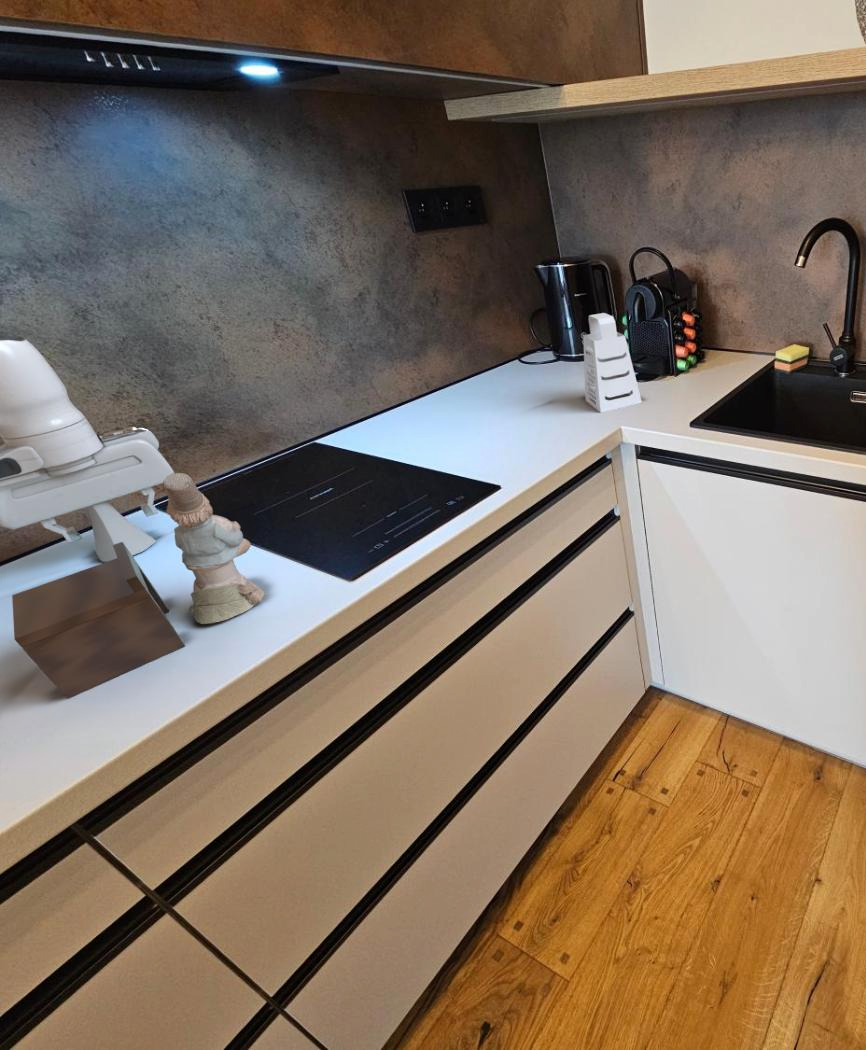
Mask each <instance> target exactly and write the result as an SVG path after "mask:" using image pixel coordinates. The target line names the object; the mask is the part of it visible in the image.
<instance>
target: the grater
mask: <svg viewBox="0 0 866 1050" xmlns="http://www.w3.org/2000/svg"><path fill="white" fill-rule="evenodd" d="M616 324H617V323H616V320H615V317H614V316H612V315H610V314H608V313H606V312H601V313H596V314H590V315H588V325H589V332H590V333H589V334H583V336H582V338H583V342H582V343H583V365H584V366H583V367H584V390H585V391H584V392H585V393H584V394H585V401H586V402H587V403H588V404H589V405H590V406H591V407H593V408H594V409H595V410H596V411H598V412H599V413H600V414H601V413H602V414H603V413H605V412H610V411H615V410H618V409H623V408H626V407H627V408H628V407H630V406H635V405H639V404H643V401H642V397H641V393H640V389H639V385H638V381H637V378H636V374H635V370H634V367H633V362H632V358H631V354H630V351H629V347H628V343H627V339H626V335H625V334H623V333H620V332H618V331H617V325H616ZM625 394H628V396H624V397H619V398H614V399H611V400H610V398H613V397H618V396H623V395H625ZM606 398H609V399H606Z"/></svg>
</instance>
